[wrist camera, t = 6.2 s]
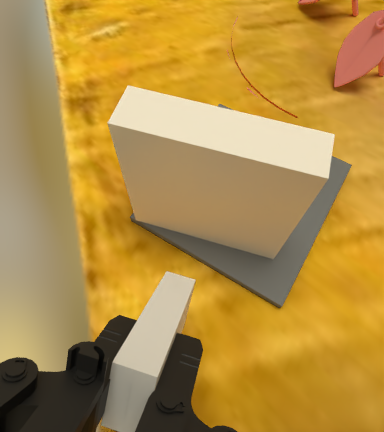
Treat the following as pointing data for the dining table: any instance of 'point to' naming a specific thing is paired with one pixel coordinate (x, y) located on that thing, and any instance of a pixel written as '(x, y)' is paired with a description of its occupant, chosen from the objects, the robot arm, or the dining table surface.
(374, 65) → the figurine
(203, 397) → the dining table surface
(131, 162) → the tile
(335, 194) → the mat
